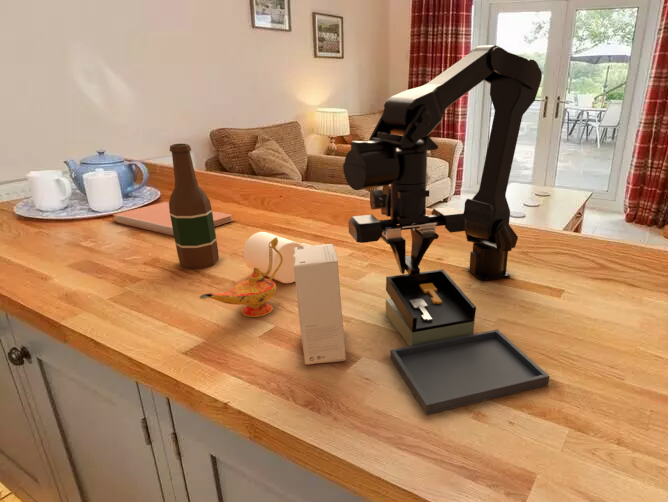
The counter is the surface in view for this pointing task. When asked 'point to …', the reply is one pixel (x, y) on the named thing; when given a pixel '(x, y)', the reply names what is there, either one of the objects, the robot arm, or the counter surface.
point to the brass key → (431, 292)
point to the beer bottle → (191, 214)
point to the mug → (259, 256)
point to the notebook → (159, 218)
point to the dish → (429, 298)
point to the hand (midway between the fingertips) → (407, 272)
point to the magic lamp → (252, 290)
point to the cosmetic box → (319, 303)
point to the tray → (466, 370)
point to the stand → (425, 335)
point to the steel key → (421, 308)
